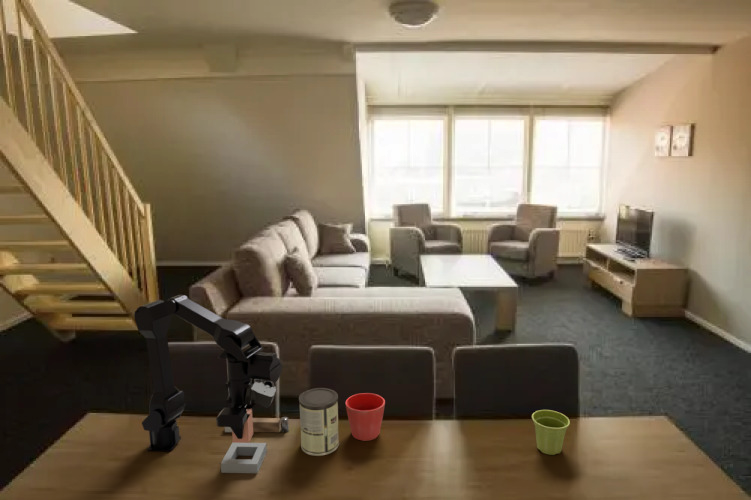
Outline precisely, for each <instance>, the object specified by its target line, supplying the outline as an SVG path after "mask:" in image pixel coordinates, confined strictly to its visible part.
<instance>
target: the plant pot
mask: <svg viewBox="0 0 751 500" xmlns="http://www.w3.org/2000/svg"><path fill="white" fill-rule="evenodd" d="M531 419H532V421H533V425H534V430H535V438H536V439H535V441H536V448H537V449H538V450H539V451H540V452H542V454H546V455H549V456H550V455H551V456H554V455H556V454H561V453H562V448H563V444H564V440H565V439H564V438H565V436H566V431H567V429H568V428H569V426H570V423H571V422H570V419H569V417H568V416H566V415H565V414H563V413H561V412H558V411H555V410H551V409H540V410H535V412H533V413H532V414H531Z"/></svg>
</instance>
